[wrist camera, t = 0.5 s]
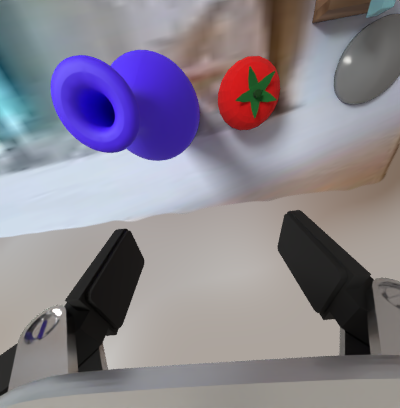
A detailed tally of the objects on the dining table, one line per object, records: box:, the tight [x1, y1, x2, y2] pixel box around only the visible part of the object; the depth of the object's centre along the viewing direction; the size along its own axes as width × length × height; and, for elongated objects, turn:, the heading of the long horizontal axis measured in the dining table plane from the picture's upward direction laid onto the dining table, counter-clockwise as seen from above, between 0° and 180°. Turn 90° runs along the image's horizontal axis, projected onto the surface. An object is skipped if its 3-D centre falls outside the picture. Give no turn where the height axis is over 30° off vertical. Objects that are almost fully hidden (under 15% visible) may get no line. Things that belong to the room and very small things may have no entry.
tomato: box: [218, 56, 280, 130], centre depth 26 cm, size 10×10×10 cm
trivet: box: [334, 14, 400, 104], centre depth 27 cm, size 12×12×1 cm
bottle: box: [51, 50, 200, 161], centre depth 18 cm, size 8×8×30 cm
